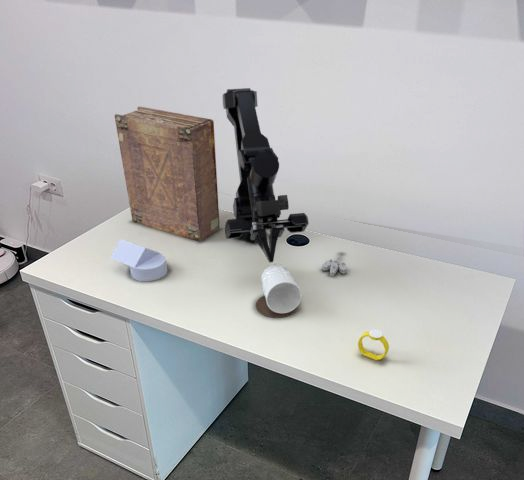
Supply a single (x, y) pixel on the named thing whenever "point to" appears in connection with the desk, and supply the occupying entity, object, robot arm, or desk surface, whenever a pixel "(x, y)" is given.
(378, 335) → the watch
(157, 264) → the wedge on round base
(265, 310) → the coaster
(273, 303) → the white cup
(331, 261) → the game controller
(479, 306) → the desk surface
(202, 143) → the book
